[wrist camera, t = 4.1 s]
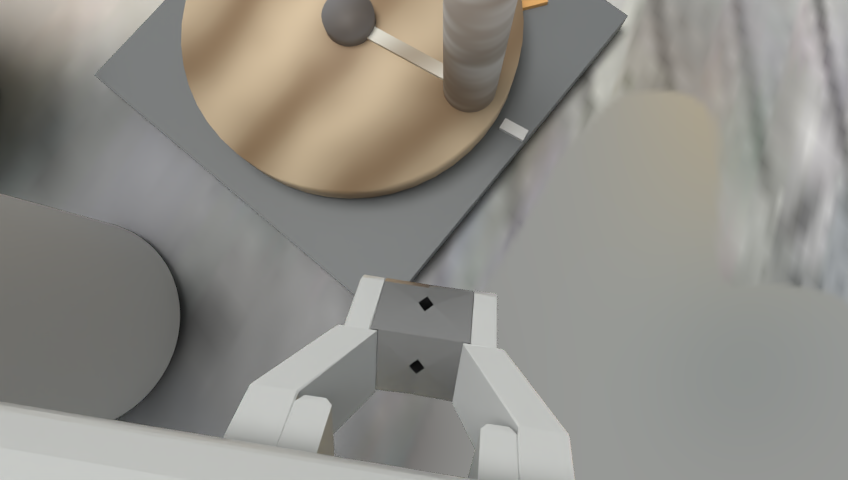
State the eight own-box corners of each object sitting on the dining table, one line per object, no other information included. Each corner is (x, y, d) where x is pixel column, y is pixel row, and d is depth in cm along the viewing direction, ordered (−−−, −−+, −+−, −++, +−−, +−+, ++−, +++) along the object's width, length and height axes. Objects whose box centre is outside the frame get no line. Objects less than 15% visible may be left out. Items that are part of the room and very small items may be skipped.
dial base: (343, -163, 35) (337, -188, 34) (619, 29, 32) (629, 12, 31) (109, 85, 33) (90, 72, 31) (383, 316, 30) (379, 316, 28)
